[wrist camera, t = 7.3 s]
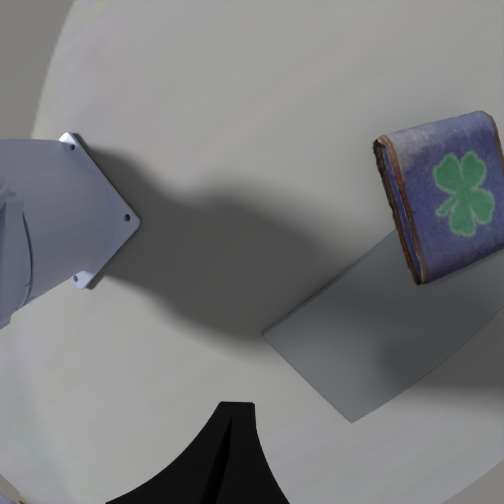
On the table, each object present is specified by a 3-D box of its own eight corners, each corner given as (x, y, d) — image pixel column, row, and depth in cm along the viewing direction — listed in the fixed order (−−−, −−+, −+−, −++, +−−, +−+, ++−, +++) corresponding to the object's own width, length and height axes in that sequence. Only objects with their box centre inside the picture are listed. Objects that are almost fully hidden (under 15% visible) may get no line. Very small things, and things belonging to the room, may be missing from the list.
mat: (262, 332, 21) (261, 336, 20) (474, 156, 16) (478, 156, 16) (350, 418, 23) (351, 423, 22) (523, 276, 18) (527, 279, 17)
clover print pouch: (379, 134, 14) (506, 103, 12) (365, 143, 17) (484, 111, 15) (425, 294, 15) (539, 235, 14) (407, 280, 18) (515, 230, 16)
